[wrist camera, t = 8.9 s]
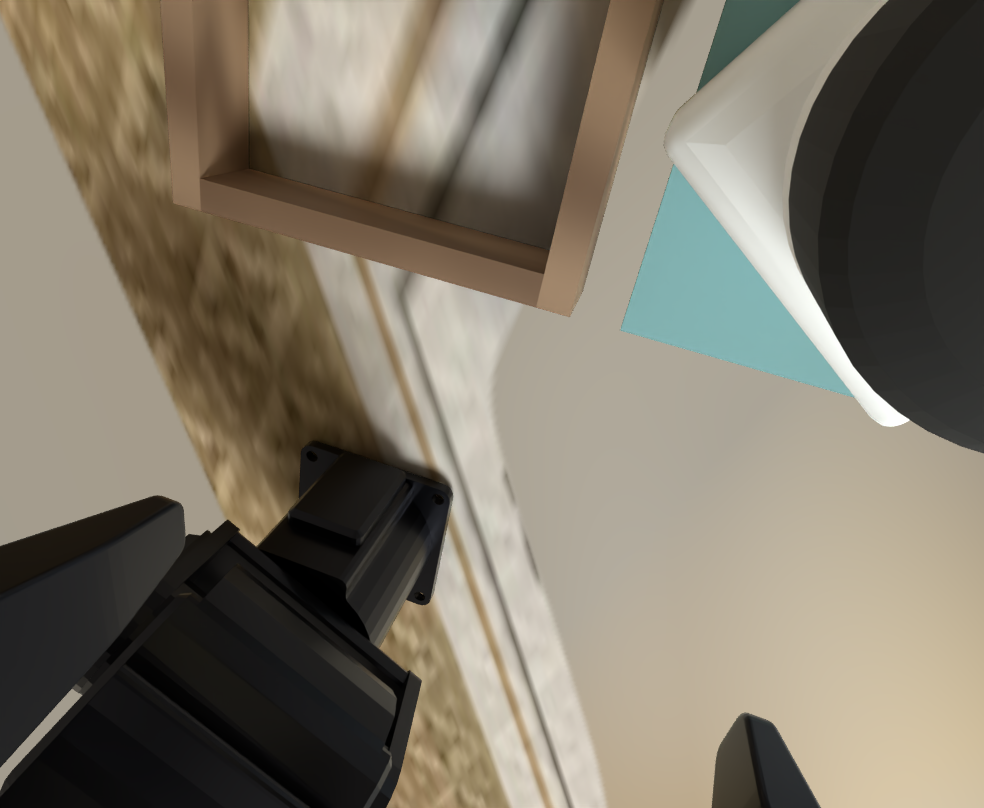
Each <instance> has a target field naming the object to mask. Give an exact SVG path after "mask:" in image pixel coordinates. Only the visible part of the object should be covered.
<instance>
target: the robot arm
mask: <svg viewBox="0 0 984 808" xmlns="http://www.w3.org/2000/svg"><path fill="white" fill-rule="evenodd" d="M312 451H313V452H314V453H316V455H317V456H315V455H314V454H313V453H312ZM436 494H439V495H441V496H442V497H443V498H444V499H440V498H438V497H437V496H436ZM452 501H453V493H452V491H451V489H450V488H449V487H448V486H446V485H444V484H442V483H439V482H436V481H433V480H430V479H427V478H424V477H421V476H418V475H415V474H412V473H409V472H406V471H403V470H400V469H397V468H394V467H391V466H389V465H386V464H383V463H380V462H377V461H374V460H371V459H368V458H365V457H362V456H359V455H356V454H353V453H350V452H347V451H344V450H341V449H338V448H335V447H332V446H329V445H326V444H323V443H320V442H317V441H311V442H309V443H308V444H307V445H306V446H305V447H304V448H303V449H302V451H301V464H300V486H299V499H298V500H297V502H296V503H295V504H294V505H293V506H292V507H291V508H290V509H289V511H288V513H287V514H286V515H285V516H284V517H283V519H282V520H281V521H280V522H279V523H278V524H277V525H276V526H275V527H274V528H273V529H272V530H271V531H270V533H269V534H268V535H267V536H266V537H265V538H264V539H263V540H262V541H261V542H260V543H259V544H258V545H257V546H255V545H253V544H252V543H251V542H250V541H249V540H247V539H246V538H245V537H244V536H243V535H241V534H240V533H239V530H240V529H239V528H237V527H236V526H235V525H234V524H233V523H231V522H230V521H229V520H226V521H225V522H224V523H223V524H222V525H221V526H219V527H218V528H217V529H216V530H215V531H214V532H213V533H210V531H208V530H207V531H205V532H204V533H203V534H202V535H201V536H199V535H192V534H188V535H187V536H186V537H185V524H184V523H185V522H184V510H183V507H182V505H181V503H179V502H177V501H174V500H172V499H169V498H166V497H163V496H158V495H157V496H152V497H148V498H146V499H143V500H139V501H136V502H133V503H130V504H127V505H124V506H121V507H118V508H115V509H112V510H109V511H106V512H103V513H100V514H97V515H94V516H91V517H87V518H85V519H81V520H78V521H75V522H72V523H69V524H66V525H63V526H60V527H57V528H54V529H51V530H48V531H45V532H42V533H39V534H35V535H33V536H30V537H26V538H24V539H20V540H17V541H14V542H11V543H8V544H5V545H2V546H0V767H1V766H2V765H3V764H4V763H5V762H6V760H7V759H8V758H9V757H10V756H11V755H12V754H13V753H14V752H15V751H16V750H17V748H18V747H19V746H20V745H21V744H22V743H23V742H24V741H25V740H26V739H27V737H28V736H29V735H30V734H31V733H32V732H33V731H34V730H35V728H37V726H38V725H39V724H40V723H41V722H42V721H43V720H44V718H45V717H46V716H47V715H48V714H49V713H50V712H51V711H52V710H53V709H54V708H55V706H56V705H57V704H58V703H59V702H60V701H61V700H62V699H63V698H64V697H65V695H66V694H67V693H68V692H69V691H70V690H71V689H74V690H75V691H76V692H78V693H80V694H82V697H81V698H80V699H79V700H78V701H77V702H76V703H75V704H74V705H73V706H72V707H71V708H70V709H69V710H68V712H67V713H66V714H65V715H64V716H63V717H62V718H61V719H60V720H59V721H58V722H57V723H56V724H55V725H54V726H53V728H52V729H51V730H50V731H49V732H48V733H47V734H46V735H45V736H44V737H43V738H42V739H41V741H40V742H39V743H38V744H37V745H36V746H35V747H34V748H33V749H32V750H31V751H30V752H29V753H28V754H27V755H26V756H25V757H24V758H23V760H22V761H21V762H20V763H19V764H18V765H17V766H16V767H15V768H14V769H13V770H12V771H11V773H10V774H9V775H8V777H7V778H6V779H5V781H4V784H3V786H2V788H1V790H0V808H386V807H387V805H388V803H389V801H390V799H391V797H392V794H393V792H394V789H395V787H396V785H397V782H398V779H399V775H400V772H401V768H402V764H403V760H404V755H405V751H406V747H407V742H408V738H409V734H410V729H411V725H412V721H413V717H414V712H415V708H416V704H417V699H418V695H419V691H420V686H421V682H422V680H421V679H420V678H418V677H417V676H416V675H415V674H414V673H412V672H411V671H410V670H409V671H406V670H404V669H403V668H402V667H401V666H399V665H398V664H397V663H396V662H395V661H393V660H392V659H391V658H390V657H389V656H387V655H386V654H385V653H384V652H383V651H381V650H380V649H379V648H380V646H381V644H382V642H383V641H384V639H385V637H386V635H387V633H388V631H389V630H390V628H391V626H392V624H393V622H394V621H395V619H396V617H397V615H398V613H399V611H400V610H401V608H402V606H403V604H404V602H405V600H408V601H411V602H413V603H416V604H419V605H426V604H428V603H429V602H430V600H431V598H432V596H433V594H434V589H435V584H436V579H437V574H438V569H439V564H440V560H441V555H442V550H443V545H444V540H445V535H446V530H447V525H448V520H449V515H450V510H451V506H452ZM420 592H421V593H423V594H421V593H420ZM712 808H821V807H820V805H819V804H818V802H817V800H816V798H815V796H814V795H813V793H812V791H811V789H810V788H809V786H808V784H807V782H806V780H805V778H804V777H803V775H802V773H801V771H800V769H799V768H798V766H797V764H796V762H795V761H794V759H793V757H792V755H791V753H790V751H789V750H788V748H787V746H786V744H785V742H784V741H783V739H782V737H781V735H780V733H779V732H778V730H777V728H776V727H775V726H774V725H773V723H771V722H770V721H768V720H766V719H763V718H760V717H757V716H755V715H752V714H749V713H742V714H741V715H740V716H739V717H738V718H737V719H736V721H735V722H734V724H733V725H732V727H731V728H730V730H729V732H728V733H727V735H726V736H725V738H724V739H723V741H722V742H721V744H720V746H719V749H718V752H717V757H716V764H715V776H714V787H713V798H712Z"/></svg>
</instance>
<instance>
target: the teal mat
mask: <svg viewBox="0 0 984 808" xmlns="http://www.w3.org/2000/svg"><path fill="white" fill-rule="evenodd" d="M799 1H800V0H726V2H725V5H724V9H723V12H722V15H721V18H720V21H719V24H718V27H717V30H716V33H715V36H714V39H713V43H712V46H711V49H710V52H709V55H708V58H707V61H706V64H705V68H704V71H703V74H702V77H701V80H700V83H699V86H698V89H697V92H698V91H699V90H700V89H701V88H702V87H704V86H705V85H706V84H707V83H708V82H709V81H710V80H711V79H712V78H714V77H715V76H716V75H717V74H718V73H719V72H720V71H721V70H723V69H724V68H725V67H726V66H727V65H728V64H729V63H730V62H732V61H733V60H734V59H735V58H736V57H737V56H738V55H739V54H740V53H742V52H743V51H744V50H745V49H746V48H747V47H748V46H749V45H751V44H752V43H753V42H754V41H755V40H756V39H757V38H758V37H760V36H761V35H762V34H763V33H764V32H765V31H766V30H767V29H768V28H770V27H771V26H772V25H773V24H774V23H775V22H776V21H777V20H779V19H780V18H781V17H782V16H783V15H784V14H785V13H786V12H788V11H789V10H790V9H791V8H792V7H793V6H794V5H795V4H796V3H798V2H799ZM697 92H696V93H697ZM621 331H624V332H627V333H631V334H635V335H638V336H641V337H645V338H649V339H652V340H655V341H659V342H663V343H666V344H669V345H673V346H677V347H680V348H683V349H687V350H690V351H694V352H697V353H701V354H705V355H708V356H711V357H715V358H718V359H722V360H725V361H729V362H732V363H736V364H739V365H743V366H746V367H750V368H753V369H757V370H760V371H764V372H767V373H771V374H774V375H778V376H781V377H784V378H788V379H792V380H795V381H798V382H802V383H805V384H809V385H813V386H816V387H819V388H823V389H826V390H830V391H834V392H837V393H840V394H844V395H847V396H851V397H854V395H853V394H852V393H851V392H850V390H849V389H848V388H847V386H846V385H845V384H844V383H843V381H842V380H841V379H840V377H839V376H838V375H837V374H836V372H835V371H834V370H833V368H832V367H831V366H830V364H829V363H828V362H827V361H826V359H825V358H824V357H823V355H822V354H821V353H820V352H819V350H818V349H817V348H816V346H815V345H814V344H813V343H812V341H811V340H810V339H809V337H808V336H807V335H806V334H805V332H804V331H803V330H802V328H801V327H800V326H799V325H798V323H797V322H796V321H795V319H794V318H793V317H792V315H791V314H790V313H789V312H788V310H787V309H786V308H785V306H784V305H783V304H782V303H781V301H780V300H779V299H778V297H777V296H776V295H775V294H774V292H773V291H772V290H771V288H770V287H769V286H768V285H767V283H766V282H765V281H764V279H763V278H762V277H761V275H760V274H759V273H758V272H757V270H756V269H755V268H754V266H753V265H752V264H751V263H750V261H749V260H748V259H747V257H746V256H745V255H744V254H743V252H742V251H741V250H740V248H739V247H738V246H737V245H736V243H735V242H734V241H733V239H732V238H731V237H730V235H729V234H728V233H727V232H726V230H725V229H724V228H723V226H722V225H721V224H720V223H719V221H718V220H717V219H716V217H715V216H714V215H713V214H712V212H711V211H710V210H709V208H708V207H707V206H706V205H705V203H704V202H703V201H702V199H701V198H700V197H699V196H698V194H697V193H696V192H695V190H694V189H693V188H692V186H691V185H690V184H689V183H688V181H687V180H686V179H685V177H684V176H683V175H682V174H681V172H680V171H679V170H678V168H677V167H676V166H675V165H674V164H673V167H672V171H671V174H670V177H669V180H668V183H667V186H666V189H665V192H664V196H663V198H662V202H661V205H660V208H659V211H658V215H657V218H656V220H655V223H654V227H653V230H652V233H651V236H650V239H649V242H648V245H647V248H646V252H645V255H644V258H643V261H642V264H641V267H640V270H639V273H638V277H637V280H636V283H635V286H634V289H633V292H632V295H631V298H630V302H629V304H628V308H627V311H626V314H625V317H624V320H623V323H622V326H621Z"/></svg>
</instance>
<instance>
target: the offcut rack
mask: <svg viewBox="0 0 984 808" xmlns="http://www.w3.org/2000/svg"><path fill="white" fill-rule="evenodd" d="M663 1H664V0H610V4H609V8H608V12H607V17H606V21H605V25H604V29H603V33H602V37H601V41H600V45H599V50H598V54H597V58H596V62H595V66H594V70H593V74H592V79H591V83H590V87H589V91H588V95H587V99H586V103H585V107H584V112H583V116H582V120H581V124H580V128H579V132H578V136H577V141H576V145H575V149H574V153H573V157H572V161H571V165H570V169H569V174H568V178H567V182H566V186H565V190H564V194H563V198H562V203H561V207H560V211H559V215H558V219H557V223H556V227H555V231H554V236H553V240H552V244H551V248H550V250H546V249H542V248H539V247H535V246H531V245H528V244H524V243H520V242H517V241H513V240H509V239H506V238H502V237H498V236H495V235H491V234H487V233H484V232H480V231H476V230H473V229H469V228H465V227H462V226H458V225H454V224H451V223H447V222H443V221H440V220H436V219H432V218H429V217H425V216H421V215H418V214H414V213H410V212H406V211H403V210H399V209H395V208H392V207H388V206H384V205H381V204H377V203H373V202H370V201H366V200H362V199H359V198H355V197H351V196H348V195H344V194H340V193H337V192H333V191H329V190H326V189H322V188H318V187H315V186H311V185H307V184H304V183H300V182H296V181H293V180H289V179H285V178H282V177H278V176H274V175H270V174H267V173H263V172H259V171H256V170H252V169H249V79H248V0H160V8H161V23H162V39H163V54H164V70H165V85H166V101H167V116H168V132H169V147H170V163H171V178H172V194H173V203H174V204H177V205H181V206H184V207H188V208H191V209H195V210H198V211H201V212H205V213H208V214H212V215H215V216H219V217H222V218H226V219H229V220H233V221H236V222H240V223H243V224H247V225H250V226H254V227H257V228H261V229H264V230H268V231H271V232H275V233H278V234H282V235H285V236H289V237H292V238H296V239H299V240H303V241H306V242H310V243H313V244H316V245H320V246H323V247H327V248H330V249H334V250H337V251H341V252H344V253H348V254H351V255H355V256H358V257H362V258H365V259H369V260H372V261H376V262H379V263H383V264H386V265H390V266H393V267H397V268H400V269H404V270H407V271H411V272H414V273H418V274H421V275H425V276H428V277H431V278H435V279H438V280H442V281H445V282H449V283H452V284H456V285H459V286H463V287H466V288H470V289H473V290H477V291H480V292H484V293H487V294H491V295H494V296H498V297H501V298H505V299H508V300H512V301H515V302H519V303H522V304H526V305H529V306H533V307H536V308H540V309H543V310H547V311H550V312H553V313H557V314H560V315H564V316H568V317H570V315H571V313H572V311H573V309H574V307H575V306H576V304H577V302H578V300H579V298H580V296H581V294H582V292H583V288H584V285H585V281H586V278H587V274H588V271H589V267H590V263H591V260H592V256H593V253H594V249H595V245H596V241H597V238H598V235H599V231H600V227H601V224H602V220H603V217H604V212H605V209H606V205H607V202H608V198H609V195H610V191H611V188H612V184H613V181H614V177H615V173H616V170H617V166H618V163H619V159H620V155H621V152H622V148H623V145H624V141H625V138H626V133H627V130H628V127H629V123H630V120H631V116H632V112H633V109H634V105H635V102H636V98H637V94H638V91H639V87H640V84H641V80H642V76H643V73H644V69H645V66H646V62H647V58H648V55H649V51H650V48H651V44H652V40H653V37H654V33H655V30H656V26H657V23H658V19H659V15H660V12H661V8H662V5H663Z"/></svg>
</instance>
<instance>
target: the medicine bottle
mask: <svg viewBox="0 0 984 808" xmlns="http://www.w3.org/2000/svg"><path fill="white" fill-rule="evenodd" d="M664 148H665V150H666V152H667V155H668V157H669V158H670V159H671V161H672V162H673V163H674V165H675V166H676V167H677V168H678V170H679V171H680V172H681V174H682V175H683V176H684V177H685V179H686V180H687V181H688V183H689V184H690V185H691V186H692V188H693V189H694V190H695V192H696V193H697V194H698V196H699V197H700V198H701V199H702V201H703V202H704V203H705V205H706V206H707V207H708V208H709V210H710V211H711V212H712V214H713V215H714V216H715V217H716V219H717V220H718V221H719V223H720V224H721V225H722V226H723V228H724V229H725V230H726V232H727V233H728V234H729V235H730V237H731V238H732V239H733V241H734V242H735V243H736V245H737V246H738V247H739V248H740V250H741V251H742V252H743V254H744V255H745V256H746V257H747V259H748V260H749V261H750V263H751V264H752V265H753V266H754V268H755V269H756V270H757V272H758V273H759V274H760V275H761V277H762V278H763V279H764V281H765V282H766V283H767V285H768V286H769V287H770V288H771V290H772V291H773V292H774V294H775V295H776V296H777V297H778V299H779V300H780V301H781V303H782V304H783V305H784V306H785V308H786V309H787V310H788V312H789V313H790V314H791V315H792V317H793V318H794V319H795V321H796V322H797V323H798V325H799V326H800V327H801V328H802V330H803V331H804V332H805V334H806V335H807V336H808V337H809V339H810V340H811V341H812V343H813V344H814V345H815V346H816V348H817V349H818V350H819V352H820V353H821V354H822V355H823V357H824V358H825V359H826V361H827V362H828V363H829V364H830V366H831V367H832V368H833V370H834V371H835V372H836V374H837V375H838V376H839V377H840V379H841V380H842V381H843V383H844V384H845V385H846V386H847V388H848V389H849V390H850V392H851V393H852V394H853V395H854V397H855V398H856V399H857V401H858V402H859V403H860V404H861V406H862V407H863V408H864V410H865V411H866V412H867V413H868V415H869V416H870V417H871V418H872V419H874V420H875V421H876V422H878V423H879V424H881V425H883V426H891V427H893V426H897V425H901V424H903V423H905V422H907V421H909V420H911V421H912V422H914V423H916V424H917V425H919V426H920V427H922V428H924V429H925V430H927V431H929V432H931V433H933V434H935V435H937V436H939V437H942V438H944V439H946V440H948V441H950V442H953V443H955V444H957V445H959V446H962V447H965V448H968V449H971V450H975V451H978V452H981V453H984V0H800V1H799V2H798V3H796V4H795V5H794V6H793V7H792V8H791V9H790V10H789V11H788V12H786V13H785V14H784V15H783V16H782V17H781V18H780V19H779V20H777V21H776V22H775V23H774V24H773V25H772V26H771V27H770V28H768V29H767V30H766V31H765V32H764V33H763V34H762V35H761V36H760V37H758V38H757V39H756V40H755V41H754V42H753V43H752V44H751V45H749V46H748V47H747V48H746V49H745V50H744V51H743V52H742V53H740V54H739V55H738V56H737V57H736V58H735V59H734V60H733V61H732V62H730V63H729V64H728V65H727V66H726V67H725V68H724V69H723V70H721V71H720V72H719V73H718V74H717V75H716V76H715V77H714V78H712V79H711V80H710V81H709V82H708V83H707V84H706V85H705V86H704V87H702V88H701V89H700V90H699V91H698V92H697V93H696V94H695V95H693V96H692V97H691V98H690V99H689V100H688V101H687V102H686V103H684V105H682V106H681V107H680V108H679V109H678V111H677V112H676V113H675V115H674V117H673V119H672V121H671V123H670V125H669V127H668V129H667V131H666V133H665V139H664Z"/></svg>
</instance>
